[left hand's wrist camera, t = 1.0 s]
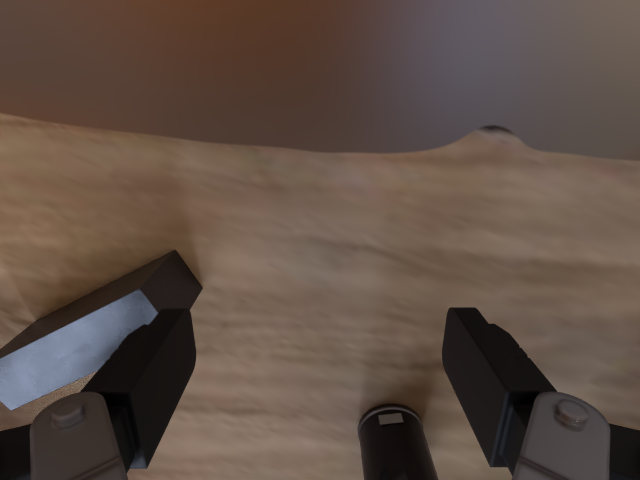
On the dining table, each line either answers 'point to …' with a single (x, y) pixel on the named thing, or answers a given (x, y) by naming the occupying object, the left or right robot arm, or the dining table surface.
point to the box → (91, 329)
